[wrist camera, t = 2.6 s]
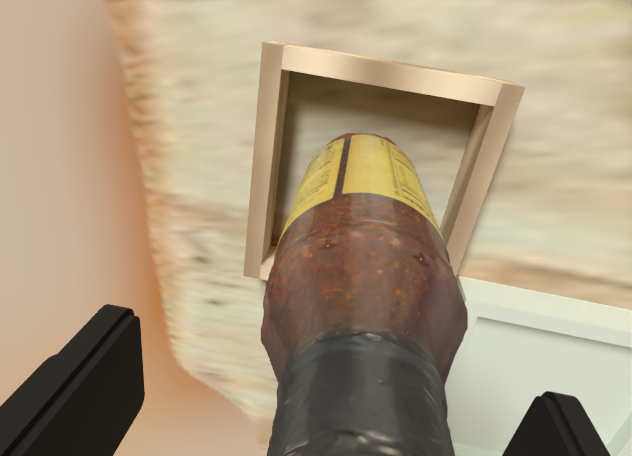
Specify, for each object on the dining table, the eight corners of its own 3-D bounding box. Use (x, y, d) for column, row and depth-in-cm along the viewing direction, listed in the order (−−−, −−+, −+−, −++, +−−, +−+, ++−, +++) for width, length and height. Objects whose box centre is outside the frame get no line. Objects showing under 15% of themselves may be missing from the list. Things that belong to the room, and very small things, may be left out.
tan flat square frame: (508, 81, 20) (525, 87, 18) (435, 291, 26) (441, 316, 24) (274, 40, 21) (262, 42, 19) (254, 255, 27) (243, 275, 25)
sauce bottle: (320, 235, 25) (193, 701, 8) (297, 138, 23) (30, 499, 5) (427, 220, 24) (567, 747, 6) (415, 115, 22) (588, 501, 4)
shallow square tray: (688, 321, 25) (719, 350, 22) (585, 463, 31) (601, 497, 29) (458, 275, 25) (466, 299, 23) (403, 423, 32) (405, 453, 29)
